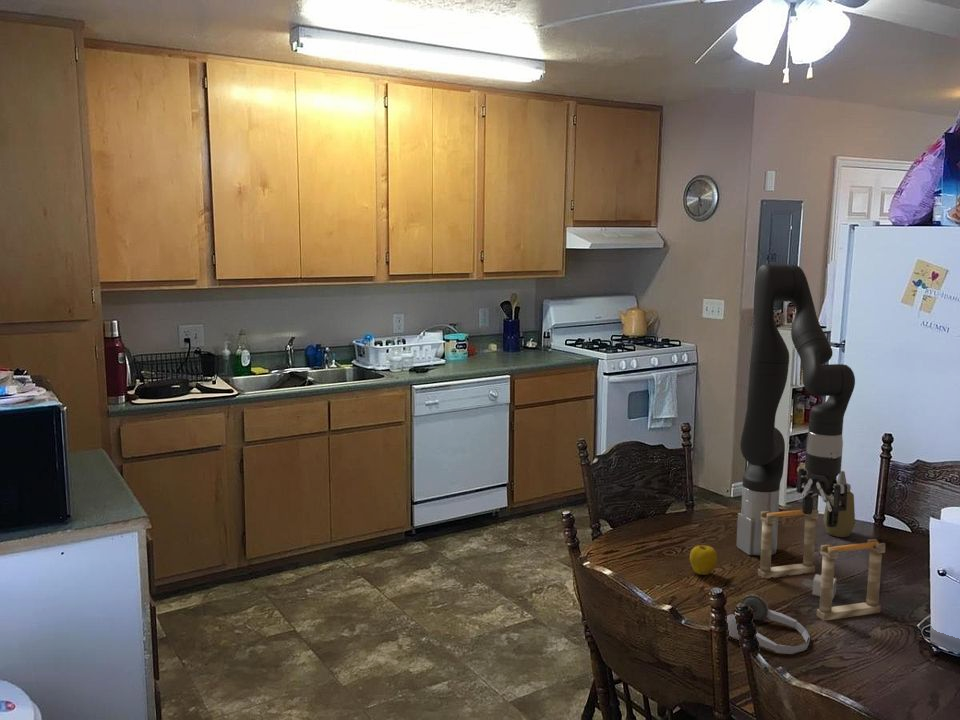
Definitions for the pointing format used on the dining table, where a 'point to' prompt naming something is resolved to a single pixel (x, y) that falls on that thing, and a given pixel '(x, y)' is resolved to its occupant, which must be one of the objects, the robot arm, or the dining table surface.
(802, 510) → the robot arm
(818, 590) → the usb wall charger
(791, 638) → the dining table surface
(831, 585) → the wooden parallette bars
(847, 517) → the squeeze bottle
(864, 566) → the dining table surface
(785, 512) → the orange wooden rod
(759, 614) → the headphones
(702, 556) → the apple
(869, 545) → the orange rod
